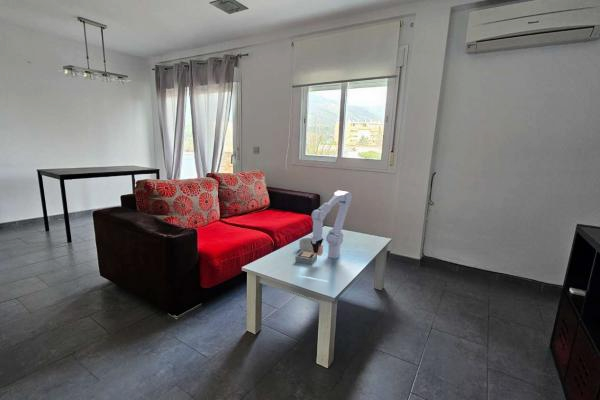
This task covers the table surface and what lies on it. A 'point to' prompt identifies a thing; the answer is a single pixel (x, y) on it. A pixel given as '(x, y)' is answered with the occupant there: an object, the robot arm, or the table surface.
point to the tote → (305, 259)
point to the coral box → (320, 250)
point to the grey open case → (305, 244)
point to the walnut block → (306, 255)
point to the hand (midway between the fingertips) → (316, 251)
